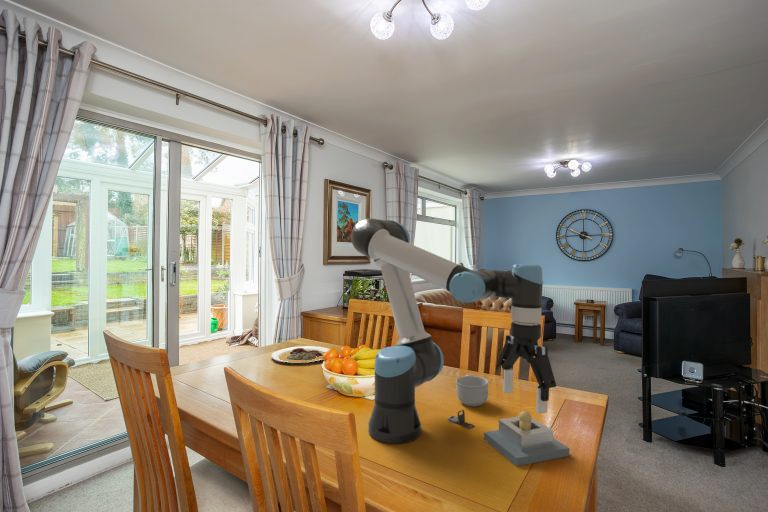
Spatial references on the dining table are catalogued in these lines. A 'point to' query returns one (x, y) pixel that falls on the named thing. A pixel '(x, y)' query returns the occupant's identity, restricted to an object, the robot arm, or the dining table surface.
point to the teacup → (472, 390)
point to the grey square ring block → (525, 434)
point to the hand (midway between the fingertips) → (523, 402)
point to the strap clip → (460, 420)
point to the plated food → (300, 353)
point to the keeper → (529, 455)
